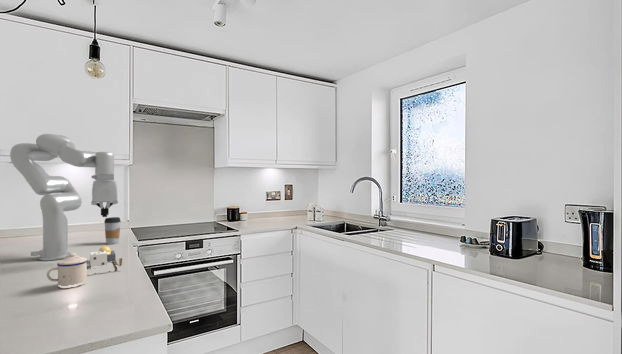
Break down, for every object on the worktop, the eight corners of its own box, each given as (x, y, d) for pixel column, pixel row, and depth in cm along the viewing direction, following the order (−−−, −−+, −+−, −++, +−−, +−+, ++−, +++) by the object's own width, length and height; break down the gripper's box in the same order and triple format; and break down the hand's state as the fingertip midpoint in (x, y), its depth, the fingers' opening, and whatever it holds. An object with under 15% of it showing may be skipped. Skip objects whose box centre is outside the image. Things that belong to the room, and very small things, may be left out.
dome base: (95, 263, 150) (95, 256, 150) (94, 260, 157) (94, 252, 157) (115, 261, 155) (115, 254, 155) (113, 257, 162) (113, 250, 162)
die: (90, 269, 143) (90, 254, 143) (90, 265, 148) (90, 252, 148) (107, 266, 146) (107, 253, 146) (105, 263, 151) (105, 250, 151)
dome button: (98, 261, 153) (98, 248, 153) (98, 259, 157) (98, 246, 157) (111, 260, 156) (111, 246, 155) (110, 258, 160) (110, 244, 160)
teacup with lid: (86, 279, 128) (86, 249, 128) (88, 285, 121) (88, 254, 121) (46, 285, 121) (46, 254, 121) (46, 292, 114) (46, 259, 114)
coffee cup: (115, 245, 190) (115, 219, 190) (100, 244, 190) (100, 218, 190) (123, 242, 198) (123, 217, 198) (110, 241, 198) (110, 217, 198)
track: (75, 277, 130) (75, 270, 130) (74, 266, 146) (74, 260, 146) (125, 270, 141) (125, 263, 141) (119, 260, 156) (119, 254, 156)
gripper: (85, 178, 148) (85, 218, 148) (123, 178, 157) (123, 216, 157) (85, 177, 154) (85, 217, 154) (121, 177, 163) (121, 214, 163)
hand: (104, 216), depth 156 cm, fingers closed
